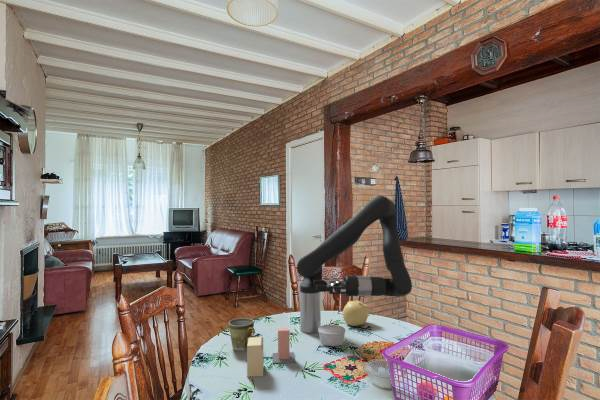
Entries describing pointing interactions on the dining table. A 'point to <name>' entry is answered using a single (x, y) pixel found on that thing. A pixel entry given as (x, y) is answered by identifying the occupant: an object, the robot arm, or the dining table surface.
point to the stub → (283, 343)
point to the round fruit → (355, 313)
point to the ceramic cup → (241, 332)
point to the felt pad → (278, 361)
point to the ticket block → (255, 357)
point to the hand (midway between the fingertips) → (314, 285)
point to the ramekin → (331, 335)
